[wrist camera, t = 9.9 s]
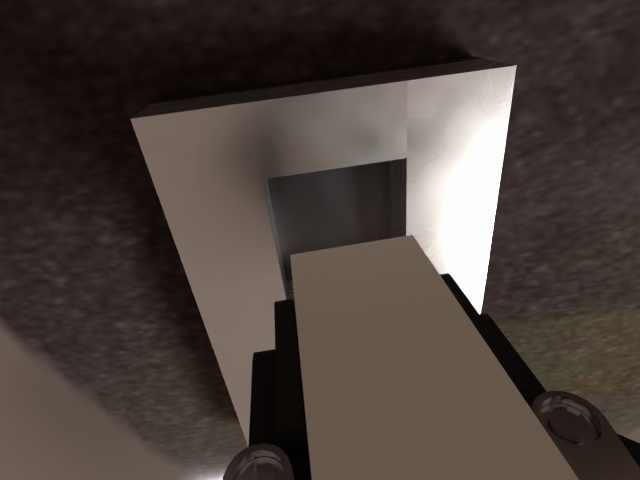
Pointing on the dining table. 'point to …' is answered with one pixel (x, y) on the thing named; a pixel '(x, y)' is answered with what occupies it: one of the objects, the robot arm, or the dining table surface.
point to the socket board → (324, 184)
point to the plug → (405, 375)
